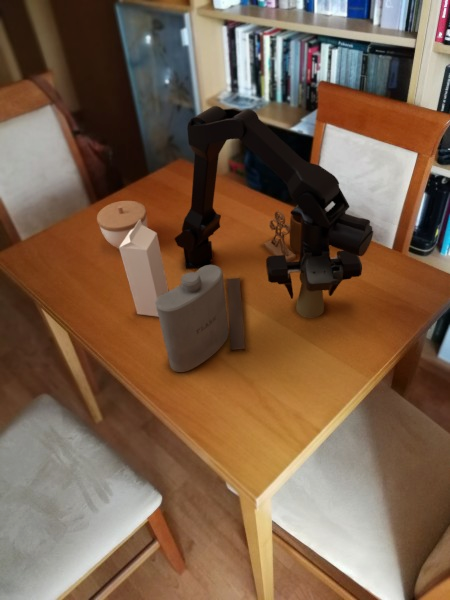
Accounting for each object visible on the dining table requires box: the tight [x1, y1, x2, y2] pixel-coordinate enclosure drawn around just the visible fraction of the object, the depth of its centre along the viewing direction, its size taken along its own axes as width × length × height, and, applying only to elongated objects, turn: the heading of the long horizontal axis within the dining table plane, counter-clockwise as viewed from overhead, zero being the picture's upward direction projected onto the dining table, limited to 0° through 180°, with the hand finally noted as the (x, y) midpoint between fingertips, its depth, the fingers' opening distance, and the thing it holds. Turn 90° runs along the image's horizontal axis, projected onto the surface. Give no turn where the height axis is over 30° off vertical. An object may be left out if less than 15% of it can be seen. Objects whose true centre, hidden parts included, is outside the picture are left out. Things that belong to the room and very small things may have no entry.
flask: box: [155, 264, 230, 373], centre depth 91 cm, size 15×6×20 cm, turn 136°
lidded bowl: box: [96, 200, 149, 250], centre depth 124 cm, size 13×13×11 cm
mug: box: [289, 213, 301, 255], centre depth 116 cm, size 12×8×9 cm, turn 39°
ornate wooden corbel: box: [263, 209, 297, 262], centre depth 116 cm, size 9×4×12 cm, turn 30°
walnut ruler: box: [226, 277, 246, 352], centre depth 105 cm, size 3×22×1 cm, turn 2°
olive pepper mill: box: [295, 272, 325, 319], centre depth 101 cm, size 6×6×11 cm
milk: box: [118, 219, 170, 318], centre depth 101 cm, size 6×6×22 cm
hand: (310, 296), depth 103 cm, fingers open, 8 cm apart
